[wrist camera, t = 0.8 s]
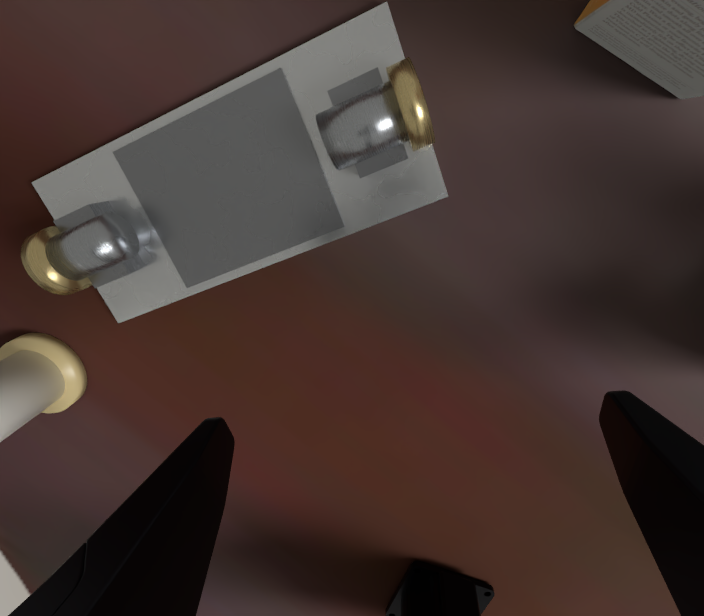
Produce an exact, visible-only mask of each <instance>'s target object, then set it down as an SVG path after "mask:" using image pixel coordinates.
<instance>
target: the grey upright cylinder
mask: <svg viewBox="0 0 704 616" xmlns="http://www.w3.org/2000/svg"><path fill="white" fill-rule="evenodd" d="M86 387H87V374H86V370H85V368H84V365H83V363H82V361H81V360H80V358H79V357H78V355H77V354H76V353H75V352H74V351H73V350H72V349H71V348H70V347H69V346H68V345H67V344H65V343H64V342H62V341H61V340H59V339H57V338H55V337H53V336H50V335H47V334H43V333H27V334H24V335H22V336H19V337H17V338H15V339H13V340H11V341H9V342H7V343H6V344H4V345H3V346H2V347H1V348H0V442H1V441H3V440H4V439H5V438H7V437H8V436H9V435H11V434H12V433H14V432H15V431H16V430H18V429H19V428H20V427H22V426H23V425H24V424H26V423H27V422H29V421H30V420H31V419H33V418H34V417H35V416H37V415H38V414H39V413H41V412H42V413H57V412H61V411H63V410H65V409H67V408H68V407H69V406H71V405H72V404H73V403H75V402H76V401H77V400H78V399H80V398H81V397H82V395H83V394H84V392H85V390H86Z"/></svg>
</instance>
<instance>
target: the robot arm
mask: <svg viewBox="0 0 704 616" xmlns="http://www.w3.org/2000/svg"><path fill="white" fill-rule="evenodd" d="M599 422H600V426H601V429H602V432H603V435H604V438H605V441H606V444H607V447H608V450H609V453H610V456H611V459H612V462H613V464H614V467H615V470H616V473H617V476H618V479H619V482H620V485H621V487H622V490H623V493H624V495H625V497H626V499H627V502H628V504H629V506H630V508H631V510H632V512H633V515H634V517H635V519H636V521H637V523H638V525H639V527H640V529H641V531H642V534H643V536H644V538H645V540H646V542H647V544H648V546H649V548H650V551H651V553H652V555H653V557H654V559H655V561H656V563H657V565H658V568H659V570H660V572H661V574H662V576H663V578H664V580H665V582H666V584H667V587H668V589H669V591H670V593H671V595H672V597H673V599H674V601H675V604H676V606H677V608H678V610H679V612H680V614H681V616H704V445H702V444H701V443H700V442H698V441H697V440H696V439H694V438H693V437H691V436H690V435H689V434H687V433H686V432H684V431H683V430H682V429H680V428H679V427H678V426H676V425H675V424H673V423H672V422H671V421H669V420H668V419H666V418H665V417H664V416H662V415H661V414H660V413H658V412H657V411H655V410H654V409H653V408H651V407H650V406H649V405H647V404H646V403H644V402H643V401H642V400H640V399H639V398H637V397H636V396H635V395H633V394H632V393H630V392H628V391H609V392H607V393H606V394H605V396H604V400H603V403H602V407H601V411H600V415H599ZM233 452H234V437H233V435H232V433H231V431H230V429H229V428H228V426H227V424H226V422H225V420H224V419H223V418H221V417H216V418H207V419H205V420H204V421H203V422H202V423H201V424H200V425H199V426H198V427H197V428H196V429H195V430H194V431H193V432H192V433H191V434H190V435H189V436H188V437H187V438H186V439H185V440H184V441H183V442H182V443H181V444H180V445H179V446H178V447H177V448H176V449H175V450H174V451H173V452H172V453H171V454H170V455H169V456H168V458H167V459H166V460H165V461H164V462H163V463H162V464H161V465H160V466H159V467H158V468H157V469H156V470H155V471H154V472H153V473H152V474H151V475H150V476H149V477H148V478H147V479H146V480H145V481H144V482H143V483H142V484H141V485H140V486H139V487H138V488H137V489H136V490H135V491H134V492H133V493H132V494H131V495H130V496H129V497H128V498H127V499H126V500H125V501H124V502H123V503H122V505H121V506H120V507H119V508H118V509H117V510H116V511H115V512H114V513H113V514H112V515H111V516H110V517H109V518H108V519H107V520H106V521H105V522H104V523H103V524H102V525H101V526H100V527H99V528H98V529H97V530H96V531H95V532H94V533H93V534H92V535H91V536H90V537H89V538H88V539H87V542H86V543H83V544H82V545H81V546H80V547H79V548H78V549H77V550H76V551H75V552H74V553H73V554H72V555H71V556H70V557H69V558H68V559H67V560H66V561H65V562H64V563H63V564H62V565H61V566H60V567H59V568H58V569H57V570H56V571H55V572H54V573H53V574H52V575H51V576H50V577H49V578H48V579H47V580H46V581H45V582H44V583H43V584H42V585H41V586H40V587H39V588H38V589H37V590H36V591H34V592H33V593H32V594H31V595H30V596H29V597H28V598H27V599H26V600H25V601H24V602H23V603H22V604H21V605H20V606H18V607H17V608H16V609H15V610H14V611H13V612H12V613H11V614H10V615H8V616H196V613H197V609H198V605H199V602H200V598H201V594H202V590H203V586H204V583H205V579H206V575H207V571H208V568H209V564H210V560H211V556H212V553H213V549H214V545H215V541H216V537H217V534H218V530H219V526H220V522H221V519H222V515H223V511H224V507H225V502H226V496H227V490H228V484H229V477H230V471H231V464H232V458H233ZM493 597H494V590H493V587H492V586H491V585H489V584H486V583H483V582H480V581H477V580H474V579H471V578H468V577H465V576H462V575H459V574H456V573H453V572H450V571H447V570H444V569H441V568H438V567H435V566H432V565H429V564H426V563H423V562H419V561H414V562H412V563H411V565H410V567H409V569H408V570H407V572H406V574H405V576H404V578H403V579H402V581H401V583H400V585H399V586H398V588H397V590H396V592H395V594H394V595H393V597H392V599H391V601H390V603H389V604H388V606H387V608H386V616H481V614H482V612H483V611H484V610H485V608H486V607H487V605H488V604H489V602H490V601H491V600H492V598H493Z"/></svg>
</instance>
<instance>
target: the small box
mask: <svg viewBox="0 0 704 616" xmlns="http://www.w3.org/2000/svg"><path fill="white" fill-rule="evenodd" d="M574 27H575V29H576V30H578V31H579V32H581V33H582V34H584V35H585V36H587V37H588V38H590V39H592V40H593V41H595V42H596V43H598V44H599V45H601V46H602V47H603V48H605V49H606V50H608V51H609V52H611V53H612V54H614V55H615V56H617V57H618V58H620V59H621V60H623V61H624V62H626V63H627V64H629V65H630V66H632V67H633V68H635V69H636V70H638V71H639V72H640V73H642V74H643V75H645V76H646V77H648V78H649V79H651V80H652V81H654V82H655V83H657V84H658V85H660V86H661V87H663V88H665V89H666V90H668V91H669V92H670V93H672V94H673V95H675V96H676V97H678V98H679V99H688V98H693V97H699V96H704V0H590V1H589V3H588V4H587V6H586V7H585V9H584V10H583V12H582V13H581V15H580V16H579V18H578V19H577V20H576V22H575V24H574Z"/></svg>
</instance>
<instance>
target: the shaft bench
mask: <svg viewBox="0 0 704 616" xmlns="http://www.w3.org/2000/svg"><path fill="white" fill-rule="evenodd" d="M433 143H435V137H434V131H433V127H432V123H431V119H430V115H429V111H428V108H427V104H426V101H425V98H424V94H423V91H422V88H421V85H420V82H419V79H418V77H417V74H416V71H415V69H414V66H413V64H412V61H411V59H410V58H409V57H407V58H405V57H404V54H403V51H402V48H401V44H400V41H399V38H398V35H397V32H396V29H395V25H394V22H393V19H392V16H391V13H390V10H389V6H388V3H387V2H385V3H383V4H381V5H379V6H377V7H375V8H373V9H371V10H369V11H367V12H365V13H363V14H361V15H359V16H357V17H355V18H353V19H351V20H349V21H347V22H345V23H343V24H342V25H340V26H338V27H336V28H334V29H332V30H330V31H328V32H326V33H324V34H322V35H320V36H318V37H316V38H314V39H312V40H310V41H308V42H306V43H304V44H302V45H300V46H298V47H296V48H294V49H292V50H291V51H289V52H287V53H285V54H283V55H281V56H279V57H277V58H275V59H273V60H271V61H269V62H267V63H265V64H263V65H261V66H259V67H257V68H255V69H253V70H251V71H249V72H247V73H245V74H243V75H241V76H239V77H238V78H236V79H234V80H232V81H230V82H228V83H226V84H224V85H222V86H220V87H218V88H216V89H214V90H212V91H210V92H208V93H206V94H204V95H202V96H200V97H198V98H196V99H194V100H192V101H190V102H188V103H187V104H185V105H183V106H181V107H179V108H177V109H175V110H173V111H171V112H169V113H167V114H165V115H163V116H161V117H159V118H157V119H155V120H153V121H151V122H149V123H147V124H145V125H143V126H141V127H139V128H137V129H135V130H134V131H132V132H130V133H128V134H126V135H124V136H122V137H120V138H118V139H116V140H114V141H112V142H110V143H108V144H106V145H104V146H102V147H100V148H98V149H96V150H94V151H92V152H90V153H88V154H86V155H84V156H83V157H81V158H79V159H77V160H75V161H73V162H71V163H69V164H67V165H65V166H63V167H61V168H59V169H57V170H55V171H53V172H51V173H49V174H47V175H45V176H43V177H41V178H39V179H37V180H35V181H33V182H31V183H32V185H33V186H34V188H35V189H36V191H37V193H38V194H39V196H40V197H41V199H42V201H43V202H44V204H45V206H46V207H47V209H48V210H49V212H50V214H51V215H52V217H53V218H54V221H53V222H54V223H55V225H56V227H54V226H53V227H48V228H45V229H43V230H41V231H39V232H37V233H35V234H32V235H30V236H29V237H27V238H26V239H25V241H24V242H23V244H22V247H21V259H22V263H23V266H24V268H25V270H26V271H27V273H28V274H29V276H30V277H31V278H32V279H33V280H34V282H36V283H37V284H38V285H39V286H40V287H42V288H43V289H45V290H47V291H49V292H51V293H54V294H58V295H70V294H73V293H76V292H78V291H80V290H83V289H85V288H88V287H89V286H91V285H93V286H94V288H97V290H98V291H99V293H100V294H101V296H102V298H103V299H104V301H105V302H106V304H107V306H108V307H109V309H110V311H111V312H112V314H113V315H114V317H115V319H116V320H117V322H118V323H121V322H123V321H126V320H128V319H131V318H134V317H136V316H139V315H141V314H144V313H147V312H149V311H152V310H154V309H157V308H160V307H162V306H165V305H167V304H170V303H173V302H175V301H178V300H180V299H183V298H186V297H188V296H191V295H193V294H196V293H199V292H201V291H204V290H206V289H209V288H212V287H214V286H217V285H219V284H222V283H225V282H227V281H230V280H232V279H235V278H238V277H240V276H243V275H245V274H248V273H251V272H253V271H256V270H258V269H261V268H264V267H266V266H269V265H271V264H274V263H277V262H279V261H282V260H284V259H287V258H290V257H292V256H295V255H297V254H300V253H303V252H305V251H308V250H310V249H313V248H316V247H318V246H321V245H323V244H326V243H329V242H331V241H334V240H336V239H339V238H342V237H344V236H347V235H349V234H352V233H355V232H357V231H360V230H362V229H365V228H368V227H370V226H373V225H375V224H378V223H381V222H383V221H386V220H388V219H391V218H394V217H396V216H399V215H401V214H404V213H407V212H409V211H412V210H414V209H417V208H420V207H422V206H425V205H427V204H430V203H433V202H435V201H438V200H440V199H443V198H446V197H448V194H447V191H446V187H445V184H444V181H443V178H442V175H441V172H440V168H439V165H438V162H437V159H436V156H435V152H434V149H433V146H432V144H433Z"/></svg>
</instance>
